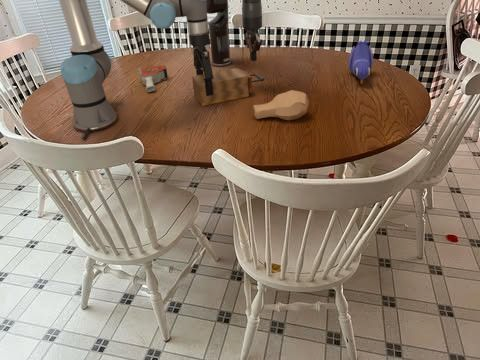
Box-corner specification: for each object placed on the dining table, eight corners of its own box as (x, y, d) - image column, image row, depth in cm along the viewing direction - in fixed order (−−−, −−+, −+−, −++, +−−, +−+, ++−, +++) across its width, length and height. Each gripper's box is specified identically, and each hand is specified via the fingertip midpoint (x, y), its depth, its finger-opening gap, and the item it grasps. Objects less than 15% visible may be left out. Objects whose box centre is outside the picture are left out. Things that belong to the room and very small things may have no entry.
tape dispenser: (151, 97, 154) (180, 78, 166) (148, 85, 150) (178, 68, 163) (122, 88, 161) (152, 71, 174) (119, 77, 158) (150, 61, 170)
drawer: (255, 82, 155) (255, 67, 151) (265, 89, 148) (264, 74, 144) (202, 92, 149) (200, 77, 145) (209, 101, 141) (207, 85, 137)
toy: (346, 78, 167) (350, 87, 144) (349, 39, 160) (352, 43, 138) (368, 77, 164) (375, 86, 142) (372, 38, 158) (379, 42, 135)
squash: (312, 121, 125) (311, 99, 119) (256, 131, 127) (252, 110, 121) (306, 103, 133) (305, 82, 126) (254, 113, 134) (250, 93, 128)
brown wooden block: (238, 87, 154) (237, 67, 149) (248, 96, 146) (248, 75, 141) (194, 96, 149) (191, 76, 144) (202, 105, 140) (199, 85, 135)
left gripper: (218, 38, 122) (223, 98, 135) (199, 25, 140) (205, 79, 153) (197, 42, 120) (205, 102, 133) (181, 28, 138) (188, 82, 151)
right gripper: (268, 16, 130) (268, 63, 140) (254, 10, 140) (255, 54, 150) (249, 19, 128) (251, 66, 138) (236, 12, 138) (238, 57, 148)
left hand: (205, 90), depth 143 cm, fingers closed on brown wooden block, 11 cm apart
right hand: (253, 60), depth 144 cm, fingers closed
